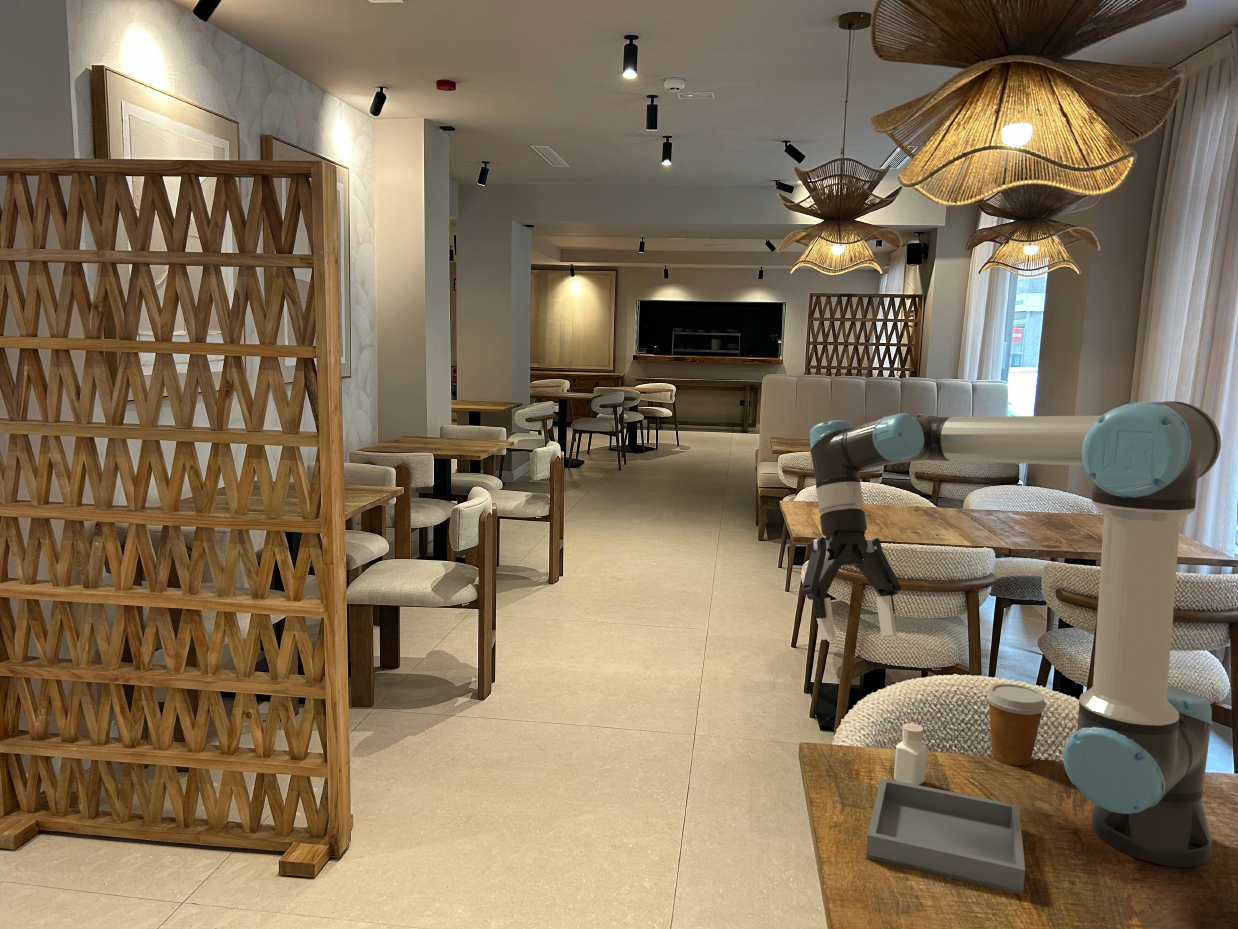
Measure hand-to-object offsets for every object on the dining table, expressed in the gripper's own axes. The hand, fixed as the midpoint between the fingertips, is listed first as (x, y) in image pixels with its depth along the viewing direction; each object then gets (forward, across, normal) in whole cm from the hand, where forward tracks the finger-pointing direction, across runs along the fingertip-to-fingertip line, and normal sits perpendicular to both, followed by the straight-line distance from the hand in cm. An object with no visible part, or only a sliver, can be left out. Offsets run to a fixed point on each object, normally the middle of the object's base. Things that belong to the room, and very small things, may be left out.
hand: (859, 637), depth 142 cm
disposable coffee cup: (+23, -32, 0) cm, 39 cm away
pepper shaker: (+24, -9, -2) cm, 26 cm away
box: (+30, 0, +12) cm, 32 cm away
